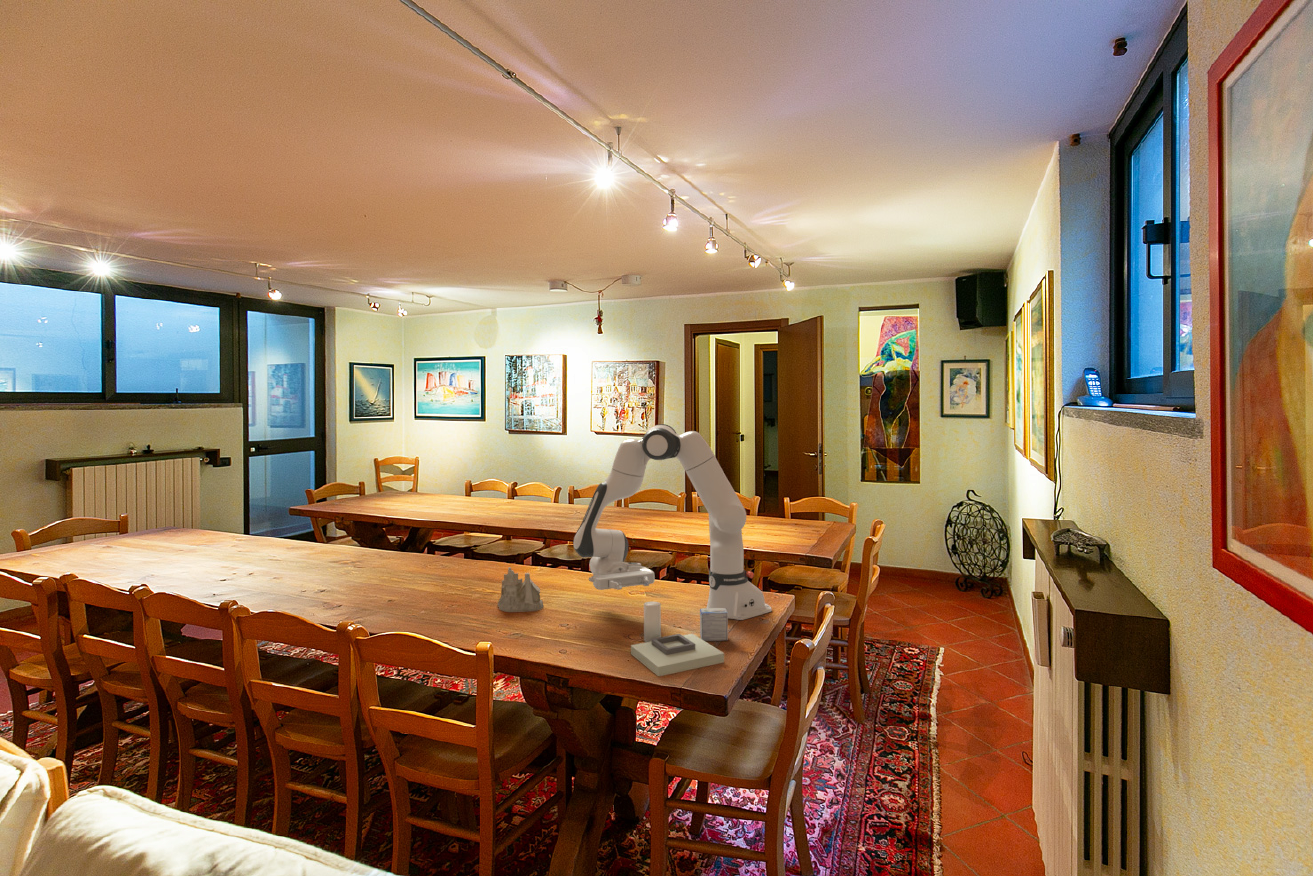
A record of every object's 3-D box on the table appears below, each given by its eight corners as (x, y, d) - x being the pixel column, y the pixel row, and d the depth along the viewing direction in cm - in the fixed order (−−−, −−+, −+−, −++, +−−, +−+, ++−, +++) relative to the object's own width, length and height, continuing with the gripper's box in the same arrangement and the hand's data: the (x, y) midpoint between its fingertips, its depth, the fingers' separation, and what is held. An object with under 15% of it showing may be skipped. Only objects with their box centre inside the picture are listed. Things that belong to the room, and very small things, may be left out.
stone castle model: (540, 611, 218) (538, 567, 219) (492, 613, 219) (490, 569, 219) (548, 600, 234) (547, 559, 234) (503, 602, 234) (502, 561, 235)
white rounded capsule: (656, 636, 195) (655, 600, 194) (663, 642, 190) (663, 605, 190) (641, 639, 193) (640, 603, 192) (648, 644, 188) (648, 607, 188)
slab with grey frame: (692, 642, 190) (692, 628, 190) (724, 662, 175) (724, 647, 175) (630, 654, 181) (630, 640, 181) (658, 676, 166) (658, 661, 166)
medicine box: (725, 635, 195) (725, 607, 195) (728, 641, 191) (728, 612, 190) (699, 636, 195) (699, 608, 195) (701, 641, 191) (701, 612, 190)
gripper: (586, 568, 209) (602, 578, 197) (643, 562, 218) (662, 572, 206) (586, 587, 209) (602, 599, 197) (643, 580, 219) (662, 591, 206)
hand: (633, 585), depth 202 cm, fingers open, 8 cm apart
